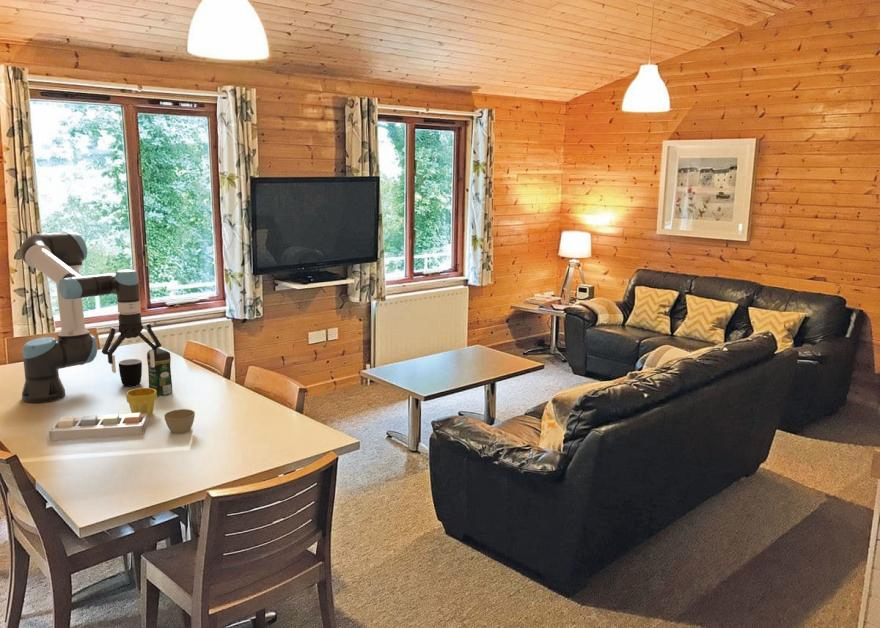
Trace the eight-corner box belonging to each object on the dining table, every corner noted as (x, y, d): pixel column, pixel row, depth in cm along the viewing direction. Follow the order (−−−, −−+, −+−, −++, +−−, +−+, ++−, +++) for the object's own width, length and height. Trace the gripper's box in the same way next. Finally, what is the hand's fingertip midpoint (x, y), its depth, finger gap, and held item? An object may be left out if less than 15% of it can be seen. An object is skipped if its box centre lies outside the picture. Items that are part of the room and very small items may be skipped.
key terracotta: (125, 424, 246) (124, 417, 245) (127, 420, 250) (126, 413, 249) (138, 423, 247) (138, 416, 246) (140, 419, 251) (140, 412, 250)
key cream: (58, 428, 240) (57, 421, 240) (61, 424, 245) (61, 417, 244) (72, 427, 242) (72, 420, 241) (75, 423, 246) (75, 416, 245)
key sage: (103, 425, 244) (102, 418, 243) (105, 421, 248) (105, 414, 248) (117, 424, 245) (116, 418, 245) (119, 420, 249) (118, 413, 249)
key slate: (81, 427, 242) (80, 420, 242) (83, 422, 246) (83, 415, 246) (95, 426, 243) (94, 419, 243) (97, 421, 248) (97, 415, 247)
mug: (146, 385, 301) (144, 362, 299) (124, 389, 295) (122, 365, 293) (136, 378, 310) (134, 356, 308) (114, 382, 304) (113, 359, 302)
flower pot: (165, 429, 251) (164, 410, 250) (195, 426, 255) (194, 407, 253) (165, 440, 242) (164, 420, 241) (196, 436, 246) (195, 417, 244)
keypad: (50, 443, 237) (48, 431, 236) (60, 429, 249) (59, 418, 248) (143, 437, 244) (142, 425, 243) (148, 424, 256) (147, 413, 255)
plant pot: (164, 415, 265) (162, 390, 263) (140, 423, 257) (138, 397, 255) (145, 410, 270) (144, 385, 269) (121, 418, 262) (119, 392, 260)
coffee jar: (146, 392, 291) (143, 348, 288) (164, 388, 297) (162, 345, 293) (156, 398, 285) (153, 353, 281) (175, 394, 290) (173, 350, 287)
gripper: (94, 318, 248) (99, 376, 252) (167, 310, 263) (171, 366, 267) (89, 314, 253) (94, 372, 258) (161, 307, 268) (165, 361, 272)
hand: (133, 369), depth 262 cm, fingers open, 13 cm apart
